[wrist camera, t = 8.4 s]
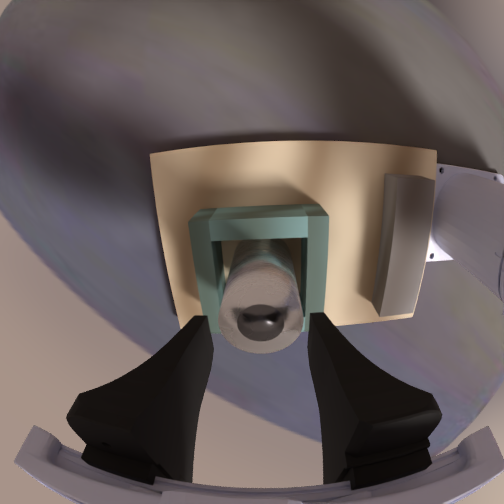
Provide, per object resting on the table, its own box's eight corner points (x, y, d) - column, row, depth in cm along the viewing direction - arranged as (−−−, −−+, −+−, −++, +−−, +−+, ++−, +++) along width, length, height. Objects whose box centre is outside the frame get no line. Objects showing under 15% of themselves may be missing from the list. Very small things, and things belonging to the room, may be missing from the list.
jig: (428, 149, 16) (461, 154, 12) (407, 309, 21) (426, 337, 18) (156, 153, 17) (129, 157, 14) (184, 320, 23) (171, 352, 19)
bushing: (291, 232, 18) (306, 286, 12) (290, 284, 20) (300, 353, 13) (231, 233, 18) (213, 287, 12) (235, 285, 20) (222, 353, 13)
